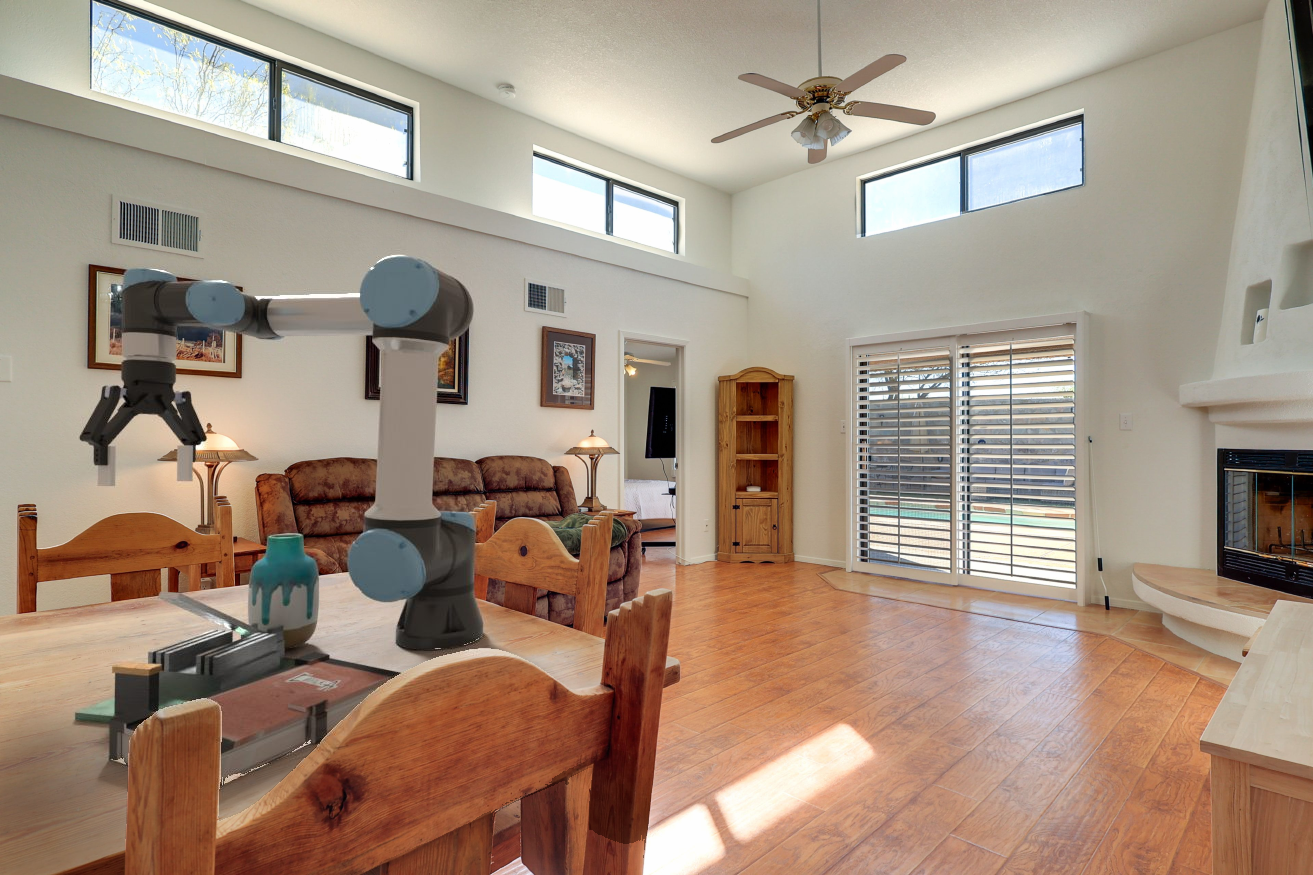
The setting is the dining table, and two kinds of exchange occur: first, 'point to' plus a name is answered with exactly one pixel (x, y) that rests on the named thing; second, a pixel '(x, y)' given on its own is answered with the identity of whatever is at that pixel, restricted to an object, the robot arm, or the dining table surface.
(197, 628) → the dining table surface
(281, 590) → the vase
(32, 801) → the dining table surface
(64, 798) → the dining table surface
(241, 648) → the heatsink
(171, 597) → the strap
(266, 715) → the brown labeled slab
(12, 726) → the dining table surface
